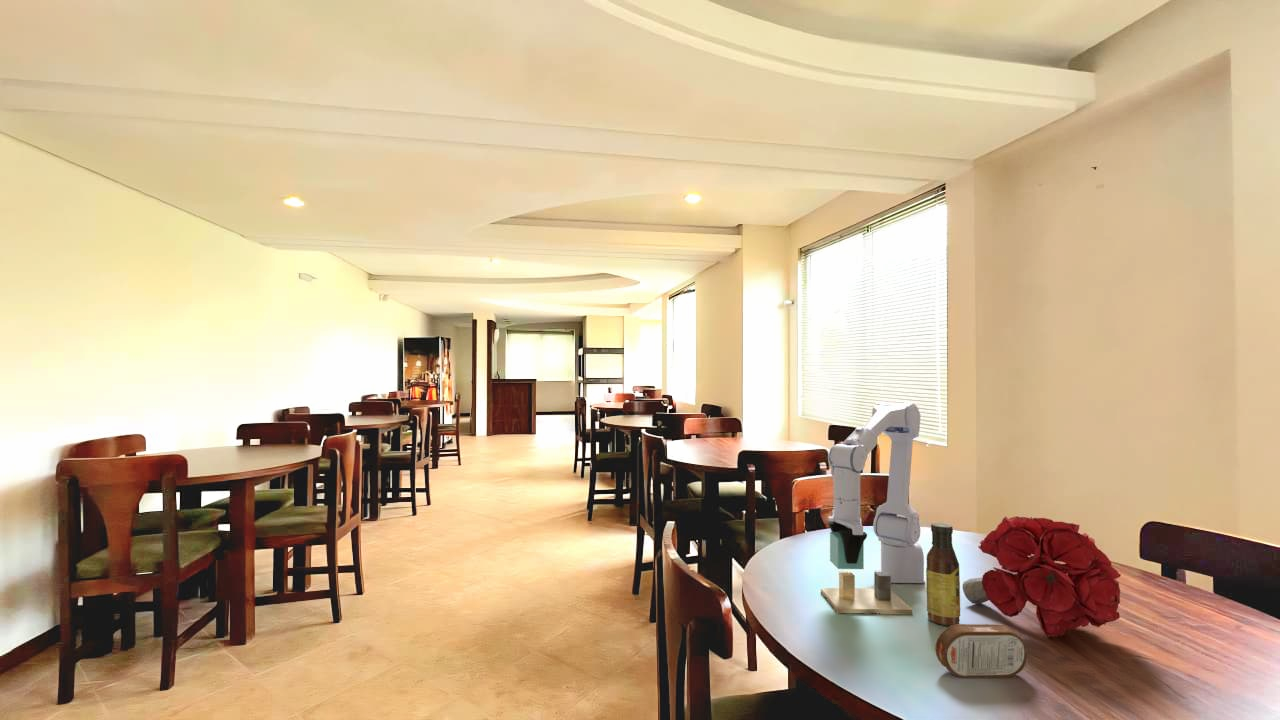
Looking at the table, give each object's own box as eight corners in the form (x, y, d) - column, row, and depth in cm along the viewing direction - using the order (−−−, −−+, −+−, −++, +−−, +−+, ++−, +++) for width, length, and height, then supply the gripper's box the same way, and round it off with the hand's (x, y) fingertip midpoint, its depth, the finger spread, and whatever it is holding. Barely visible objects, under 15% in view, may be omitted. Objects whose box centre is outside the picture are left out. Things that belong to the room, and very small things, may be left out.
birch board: (889, 592, 138) (889, 565, 138) (912, 614, 126) (912, 583, 126) (820, 592, 138) (820, 564, 138) (837, 613, 126) (837, 583, 126)
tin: (1018, 670, 102) (1018, 622, 103) (1031, 680, 99) (1031, 630, 99) (934, 671, 102) (934, 622, 102) (944, 681, 99) (944, 630, 99)
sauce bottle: (964, 628, 119) (964, 530, 119) (931, 625, 120) (931, 528, 120) (954, 615, 125) (953, 522, 125) (922, 612, 126) (922, 520, 127)
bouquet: (957, 652, 123) (1099, 630, 100) (915, 538, 134) (1033, 495, 111) (1024, 641, 131) (1168, 618, 108) (979, 535, 143) (1101, 494, 120)
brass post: (850, 595, 133) (850, 571, 133) (854, 600, 130) (854, 575, 131) (839, 595, 133) (839, 571, 133) (842, 600, 130) (842, 575, 131)
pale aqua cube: (854, 560, 135) (854, 532, 135) (863, 569, 129) (863, 539, 129) (830, 560, 135) (830, 531, 135) (838, 568, 129) (838, 538, 129)
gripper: (819, 491, 139) (819, 548, 139) (839, 505, 125) (839, 569, 125) (849, 491, 139) (849, 548, 139) (872, 505, 125) (872, 569, 125)
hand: (846, 558), depth 132 cm, fingers closed on pale aqua cube, 6 cm apart
